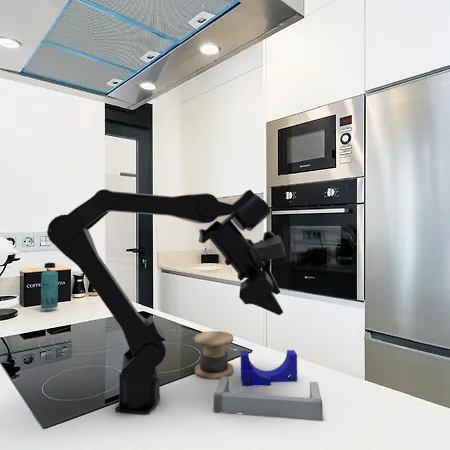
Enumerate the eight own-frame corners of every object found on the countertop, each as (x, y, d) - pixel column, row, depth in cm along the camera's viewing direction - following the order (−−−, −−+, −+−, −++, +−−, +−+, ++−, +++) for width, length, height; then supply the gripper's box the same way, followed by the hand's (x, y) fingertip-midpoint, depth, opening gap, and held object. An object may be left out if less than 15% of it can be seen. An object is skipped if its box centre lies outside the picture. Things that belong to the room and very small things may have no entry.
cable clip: (242, 386, 75) (242, 358, 75) (240, 378, 79) (240, 351, 79) (299, 385, 75) (298, 357, 75) (293, 376, 80) (293, 350, 80)
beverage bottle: (44, 309, 151) (44, 262, 151) (60, 308, 151) (60, 261, 152) (37, 312, 144) (38, 263, 145) (54, 312, 145) (55, 263, 145)
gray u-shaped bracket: (213, 412, 64) (213, 395, 64) (221, 391, 72) (221, 376, 72) (322, 420, 61) (322, 402, 61) (317, 397, 69) (317, 382, 69)
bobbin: (190, 377, 79) (190, 341, 79) (199, 363, 88) (199, 330, 88) (230, 380, 78) (230, 343, 78) (235, 365, 86) (235, 331, 87)
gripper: (266, 235, 61) (319, 302, 63) (264, 212, 79) (305, 265, 81) (216, 271, 64) (269, 335, 66) (225, 241, 82) (266, 291, 84)
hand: (279, 302), depth 74 cm, fingers open, 9 cm apart
